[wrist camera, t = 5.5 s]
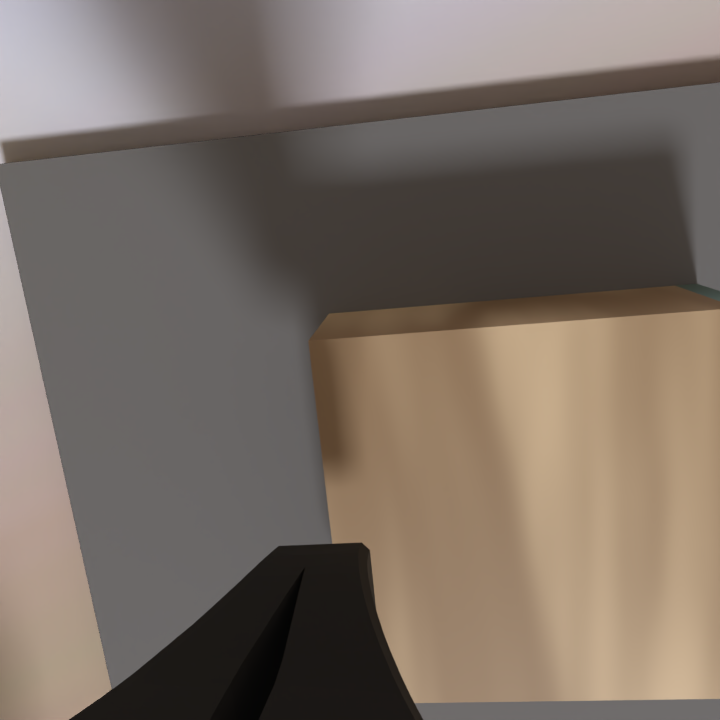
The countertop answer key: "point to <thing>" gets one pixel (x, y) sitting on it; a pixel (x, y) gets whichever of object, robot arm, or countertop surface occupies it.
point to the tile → (533, 490)
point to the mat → (314, 315)
